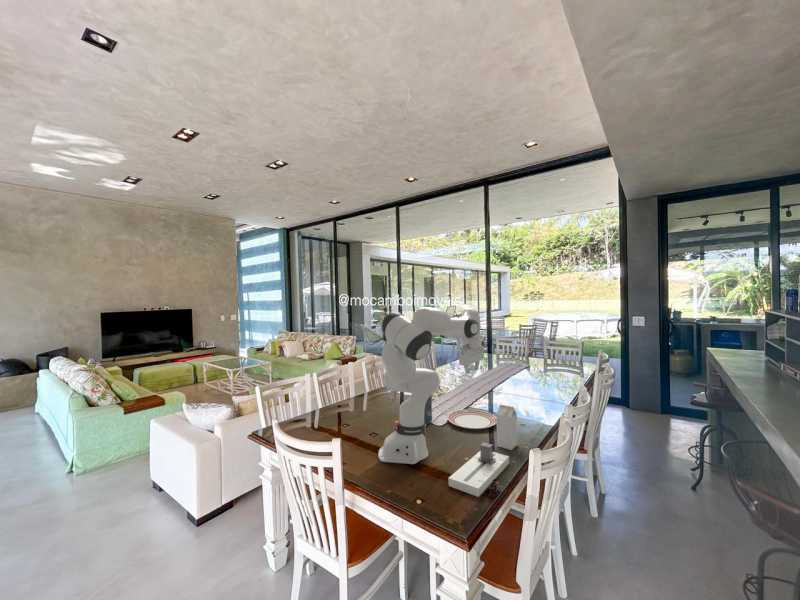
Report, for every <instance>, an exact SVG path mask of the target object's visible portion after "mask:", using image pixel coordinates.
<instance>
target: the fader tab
mask: <svg viewBox="0 0 800 600" xmlns="http://www.w3.org/2000/svg"><path fill="white" fill-rule="evenodd" d="M479 449H480V450H479V451H481V456H480V457H479V458H478V460H480V461H483V462H487V463H490V464H492V463H493V462H494V461H495V460H496V458H493V452H494V450H493V449H494V447H493V444H490V443H488V442H482V443H481V444H480V448H479Z"/></svg>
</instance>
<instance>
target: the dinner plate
mask: <svg viewBox="0 0 800 600" xmlns="http://www.w3.org/2000/svg"><path fill="white" fill-rule="evenodd" d="M447 420H448V422H450V423H451V424H452V425H455V426H456V427H460V428H463V429H467V430H482V429H488V428H491V427H493V426H495V425H497V416H496V415H494V414H492V413H490V412H487V411H484V410H479V409H459V410H455V411H452V412H450V413H449V414H448V415H447Z"/></svg>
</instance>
